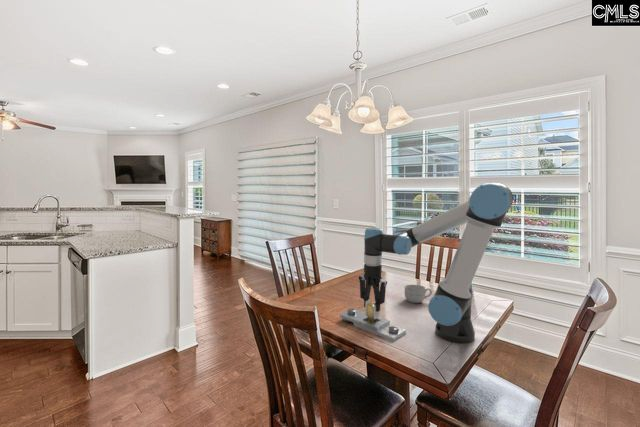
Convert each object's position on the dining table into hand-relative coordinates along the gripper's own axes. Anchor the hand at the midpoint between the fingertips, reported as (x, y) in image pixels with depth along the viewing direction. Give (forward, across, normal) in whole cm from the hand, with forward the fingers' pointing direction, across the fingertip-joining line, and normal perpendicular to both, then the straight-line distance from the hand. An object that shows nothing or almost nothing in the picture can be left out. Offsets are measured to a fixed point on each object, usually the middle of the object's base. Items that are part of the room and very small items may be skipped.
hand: (371, 316), depth 142 cm
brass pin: (+2, 0, 0) cm, 2 cm away
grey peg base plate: (+5, 0, 0) cm, 5 cm away
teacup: (+5, 0, -42) cm, 42 cm away
